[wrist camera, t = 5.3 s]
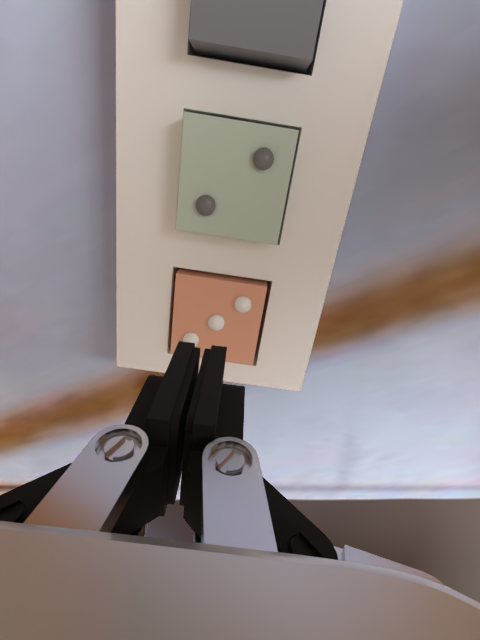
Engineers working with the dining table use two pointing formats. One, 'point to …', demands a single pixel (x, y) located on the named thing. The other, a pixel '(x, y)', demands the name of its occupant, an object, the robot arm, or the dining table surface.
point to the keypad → (303, 191)
